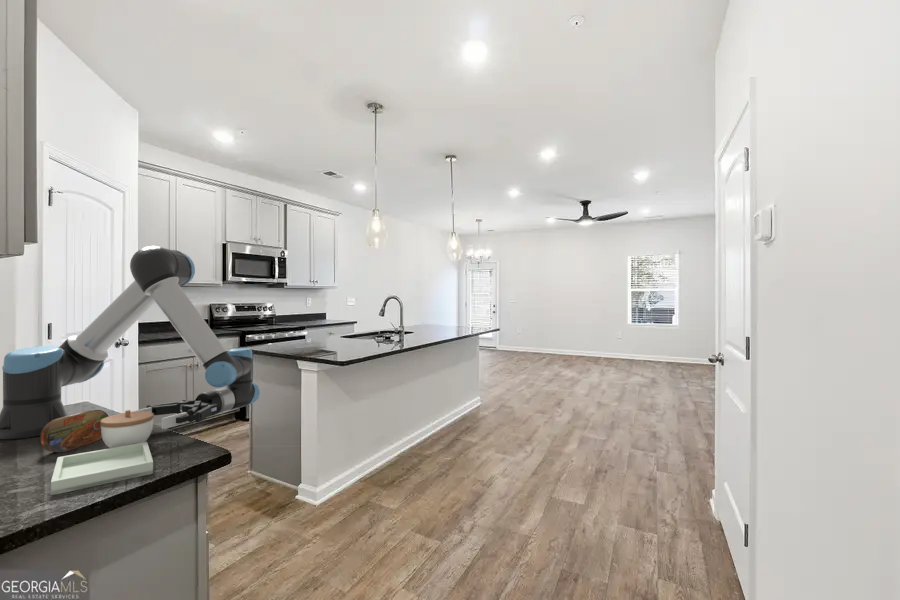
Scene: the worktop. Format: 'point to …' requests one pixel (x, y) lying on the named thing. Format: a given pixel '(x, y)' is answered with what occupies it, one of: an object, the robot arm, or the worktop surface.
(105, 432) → the lidded jar
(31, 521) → the worktop surface
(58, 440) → the tin
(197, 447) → the worktop surface
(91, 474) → the tray
